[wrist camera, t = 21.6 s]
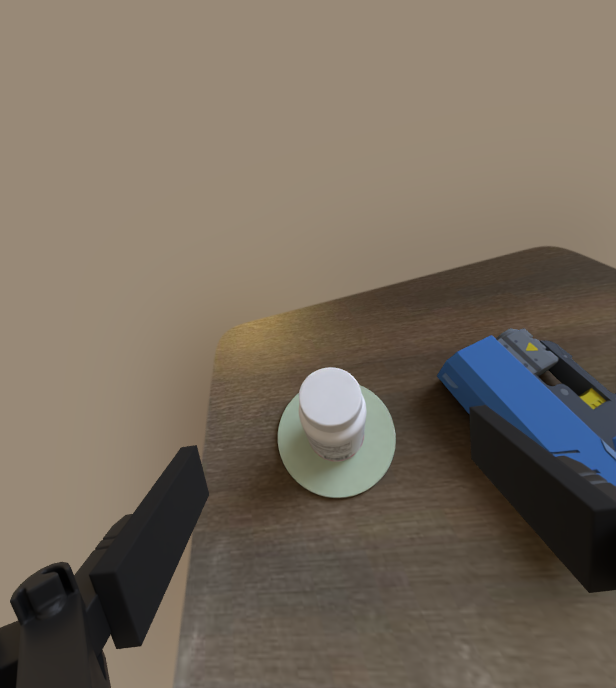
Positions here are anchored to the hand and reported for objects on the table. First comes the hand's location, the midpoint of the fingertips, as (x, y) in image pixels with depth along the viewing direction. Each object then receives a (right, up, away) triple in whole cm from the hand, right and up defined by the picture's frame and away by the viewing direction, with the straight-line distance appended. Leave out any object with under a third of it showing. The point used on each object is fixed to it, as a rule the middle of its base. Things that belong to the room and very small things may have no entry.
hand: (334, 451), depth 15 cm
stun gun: (+20, -1, +11) cm, 23 cm away
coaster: (+1, -3, +12) cm, 13 cm away
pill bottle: (+1, -3, +12) cm, 12 cm away
